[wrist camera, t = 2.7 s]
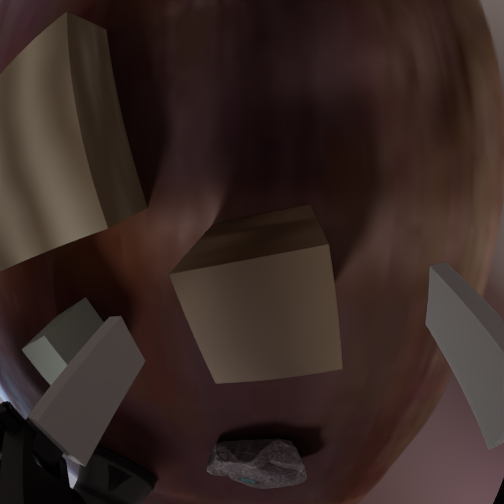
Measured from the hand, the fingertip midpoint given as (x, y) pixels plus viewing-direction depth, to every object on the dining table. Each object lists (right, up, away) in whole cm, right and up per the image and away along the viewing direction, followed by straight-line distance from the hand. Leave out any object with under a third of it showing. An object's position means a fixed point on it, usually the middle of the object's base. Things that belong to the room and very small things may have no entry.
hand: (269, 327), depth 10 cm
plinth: (-16, +11, +6) cm, 20 cm away
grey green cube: (-16, -5, +11) cm, 20 cm away
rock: (0, -20, +16) cm, 25 cm away
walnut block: (+1, +2, +7) cm, 7 cm away
